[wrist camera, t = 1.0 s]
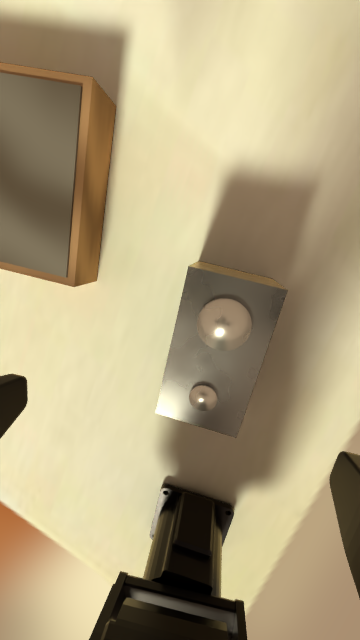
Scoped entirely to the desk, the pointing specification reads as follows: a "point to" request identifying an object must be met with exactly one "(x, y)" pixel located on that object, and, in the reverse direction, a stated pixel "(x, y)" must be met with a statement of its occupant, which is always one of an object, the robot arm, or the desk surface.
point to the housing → (218, 346)
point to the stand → (53, 173)
